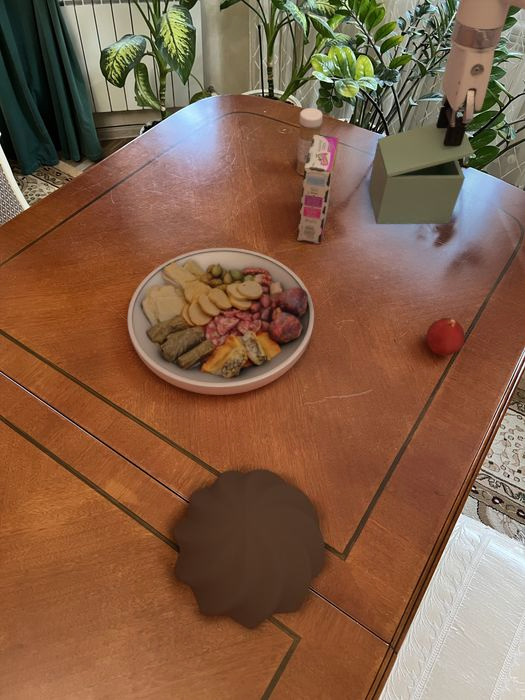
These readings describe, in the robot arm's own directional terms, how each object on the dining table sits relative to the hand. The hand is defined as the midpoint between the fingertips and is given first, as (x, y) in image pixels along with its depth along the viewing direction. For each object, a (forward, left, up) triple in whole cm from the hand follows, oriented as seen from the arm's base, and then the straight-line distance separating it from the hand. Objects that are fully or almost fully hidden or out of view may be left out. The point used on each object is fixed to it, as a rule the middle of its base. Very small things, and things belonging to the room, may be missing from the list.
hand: (448, 135), depth 105 cm
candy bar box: (+24, +6, -16) cm, 30 cm away
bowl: (+42, +33, -16) cm, 56 cm away
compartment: (+4, 0, -16) cm, 16 cm away
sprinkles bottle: (+24, -12, -16) cm, 31 cm away
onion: (+6, +38, -16) cm, 42 cm away
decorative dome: (+38, +69, -16) cm, 81 cm away
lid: (+4, 0, -3) cm, 5 cm away
